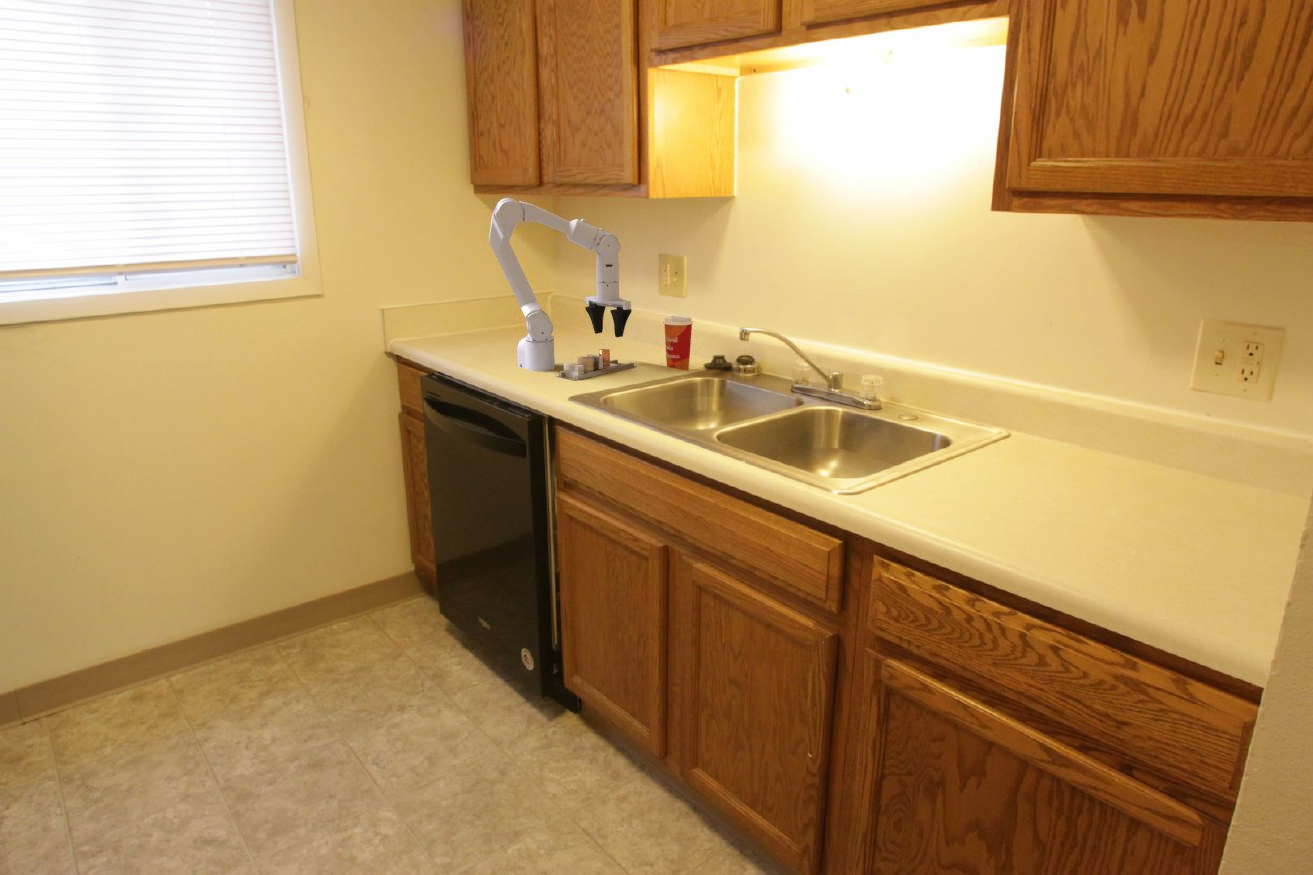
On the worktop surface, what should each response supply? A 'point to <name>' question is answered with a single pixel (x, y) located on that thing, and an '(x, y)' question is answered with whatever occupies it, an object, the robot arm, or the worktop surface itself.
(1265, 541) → the worktop surface
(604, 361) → the press jaw
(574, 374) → the grey tray
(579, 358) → the tan cylinder
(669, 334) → the paper cup
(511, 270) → the robot arm
